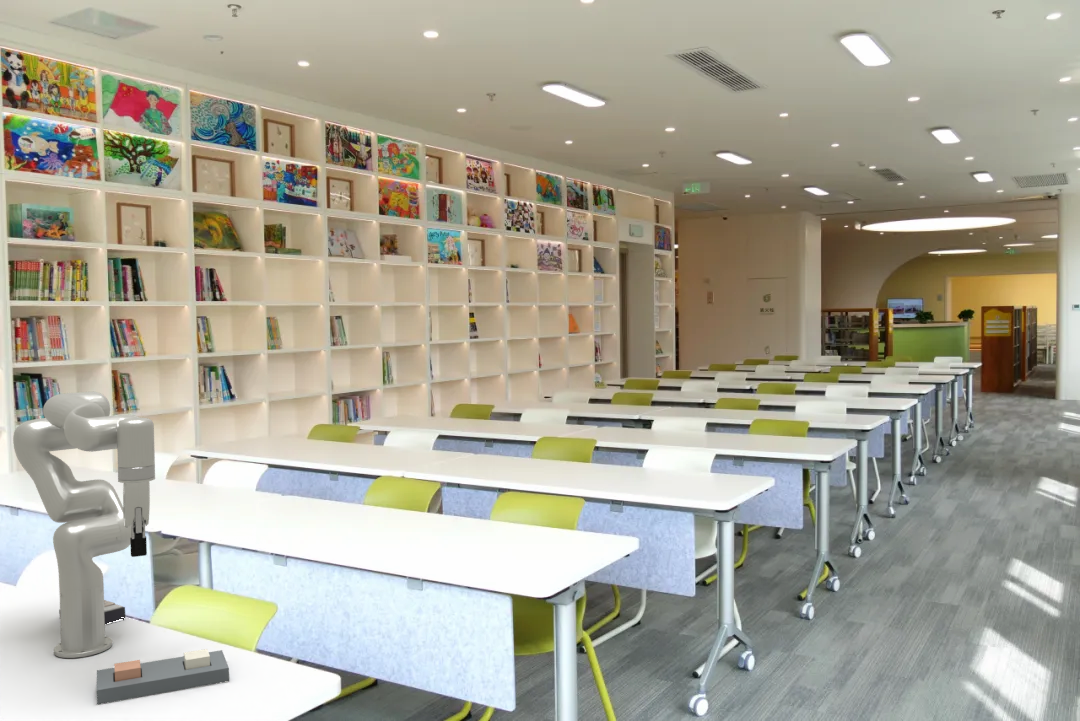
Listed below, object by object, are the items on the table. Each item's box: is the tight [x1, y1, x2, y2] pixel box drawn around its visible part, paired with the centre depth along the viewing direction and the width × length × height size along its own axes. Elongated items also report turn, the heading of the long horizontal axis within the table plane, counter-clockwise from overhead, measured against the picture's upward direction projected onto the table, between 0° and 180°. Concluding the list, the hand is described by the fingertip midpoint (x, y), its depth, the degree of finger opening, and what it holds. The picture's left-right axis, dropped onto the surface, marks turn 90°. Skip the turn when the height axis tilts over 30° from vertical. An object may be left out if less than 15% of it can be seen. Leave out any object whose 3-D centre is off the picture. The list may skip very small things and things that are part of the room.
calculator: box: [58, 599, 126, 624], centre depth 237 cm, size 11×4×15 cm
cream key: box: [183, 648, 210, 670], centre depth 197 cm, size 5×5×4 cm
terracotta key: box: [114, 659, 141, 682], centre depth 191 cm, size 5×5×4 cm
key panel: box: [96, 649, 230, 705], centre depth 194 cm, size 12×26×3 cm, turn 116°
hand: (138, 555), depth 198 cm, fingers closed
